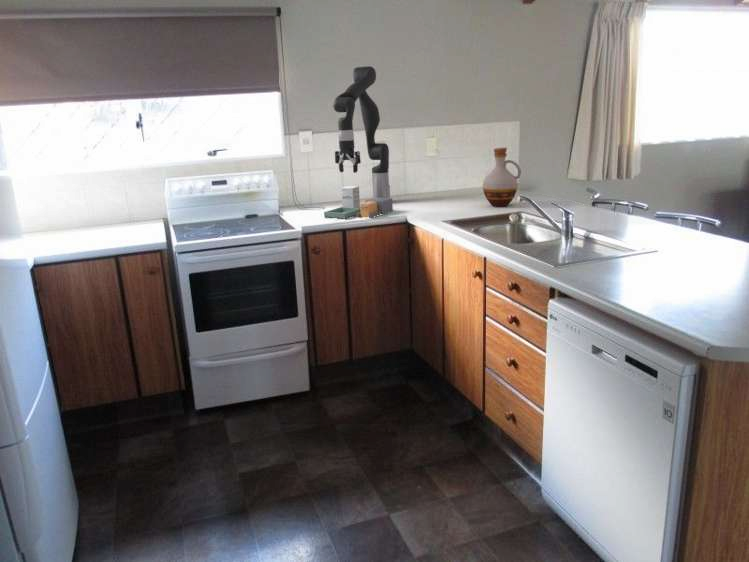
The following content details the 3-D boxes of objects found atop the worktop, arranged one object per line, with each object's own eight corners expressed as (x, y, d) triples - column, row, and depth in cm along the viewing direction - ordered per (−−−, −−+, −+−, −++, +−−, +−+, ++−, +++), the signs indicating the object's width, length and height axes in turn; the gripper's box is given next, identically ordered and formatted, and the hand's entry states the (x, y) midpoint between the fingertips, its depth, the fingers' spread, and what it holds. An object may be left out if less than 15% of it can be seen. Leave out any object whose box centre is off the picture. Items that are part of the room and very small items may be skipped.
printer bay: (377, 210, 339) (376, 197, 337) (392, 211, 334) (392, 198, 332) (355, 217, 324) (354, 203, 322) (371, 218, 318) (370, 204, 316)
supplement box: (342, 211, 342) (340, 187, 339) (348, 208, 349) (347, 185, 345) (353, 211, 339) (352, 188, 335) (360, 209, 345) (359, 185, 342)
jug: (518, 202, 342) (519, 145, 333) (522, 208, 325) (523, 148, 316) (481, 203, 344) (481, 147, 335) (483, 209, 327) (483, 150, 318)
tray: (341, 212, 338) (341, 206, 338) (361, 214, 331) (361, 208, 330) (324, 217, 327) (323, 212, 326) (344, 219, 320) (344, 213, 319)
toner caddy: (369, 214, 330) (369, 201, 328) (377, 215, 327) (377, 201, 325) (359, 217, 322) (358, 204, 320) (367, 218, 320) (366, 204, 318)
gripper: (362, 138, 312) (364, 171, 317) (339, 138, 320) (341, 170, 325) (353, 140, 306) (355, 173, 311) (330, 140, 314) (332, 172, 319)
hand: (348, 172), depth 318 cm, fingers open, 8 cm apart
